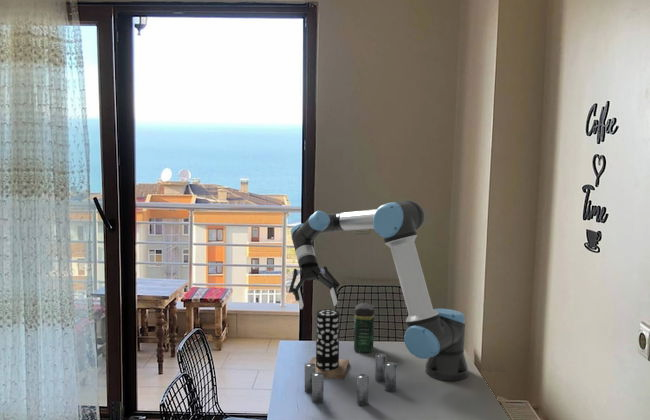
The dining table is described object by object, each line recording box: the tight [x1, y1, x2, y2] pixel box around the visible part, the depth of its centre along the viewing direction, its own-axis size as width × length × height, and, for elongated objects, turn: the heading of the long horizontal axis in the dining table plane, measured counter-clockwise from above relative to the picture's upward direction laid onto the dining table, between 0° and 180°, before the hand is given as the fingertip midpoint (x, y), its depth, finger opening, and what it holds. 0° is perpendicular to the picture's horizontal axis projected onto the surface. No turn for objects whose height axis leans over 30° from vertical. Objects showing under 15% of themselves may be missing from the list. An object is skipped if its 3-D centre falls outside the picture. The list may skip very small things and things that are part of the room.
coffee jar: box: [353, 302, 375, 354], centre depth 217 cm, size 10×8×19 cm
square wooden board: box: [309, 356, 350, 380], centre depth 198 cm, size 14×14×2 cm
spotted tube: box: [315, 308, 340, 370], centre depth 197 cm, size 8×8×20 cm
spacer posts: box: [304, 352, 397, 407], centre depth 181 cm, size 30×24×9 cm
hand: (319, 305), depth 204 cm, fingers open, 13 cm apart
